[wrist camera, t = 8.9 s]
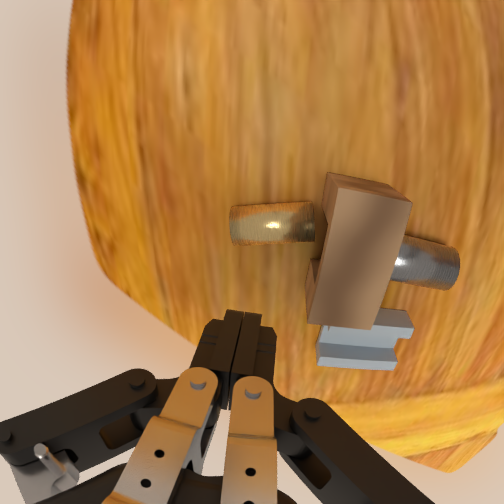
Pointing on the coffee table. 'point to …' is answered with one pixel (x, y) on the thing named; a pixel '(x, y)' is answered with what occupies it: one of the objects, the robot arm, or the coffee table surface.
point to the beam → (355, 252)
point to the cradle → (364, 342)
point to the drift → (272, 223)
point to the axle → (426, 264)
